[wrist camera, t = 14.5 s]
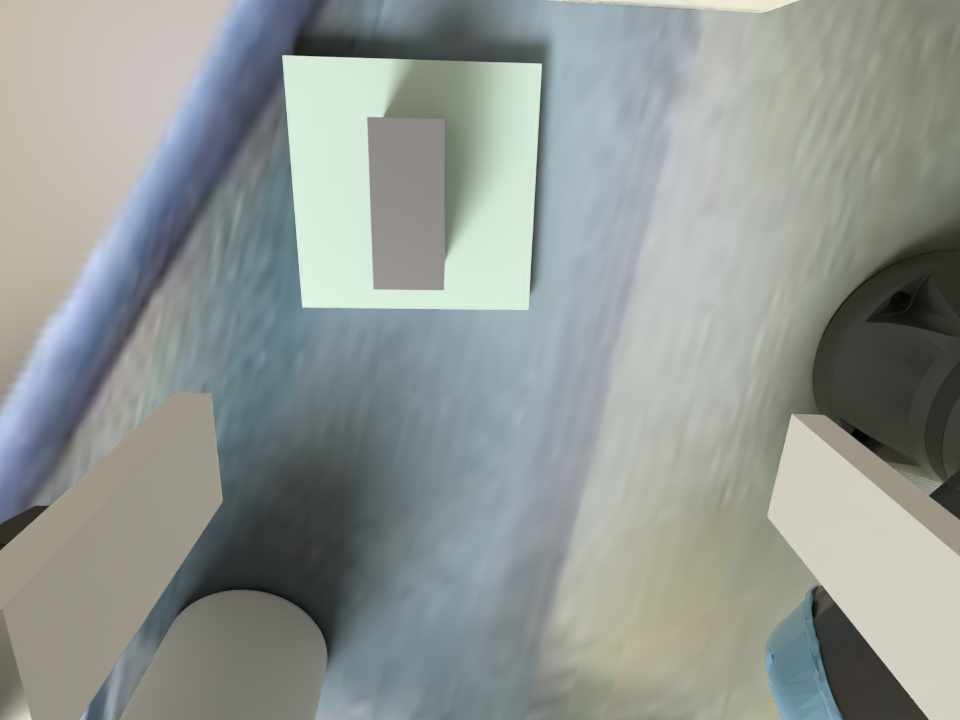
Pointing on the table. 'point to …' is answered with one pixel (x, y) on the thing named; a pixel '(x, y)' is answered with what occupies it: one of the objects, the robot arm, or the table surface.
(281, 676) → the cylinder vase
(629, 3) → the crate
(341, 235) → the lid
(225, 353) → the table surface
